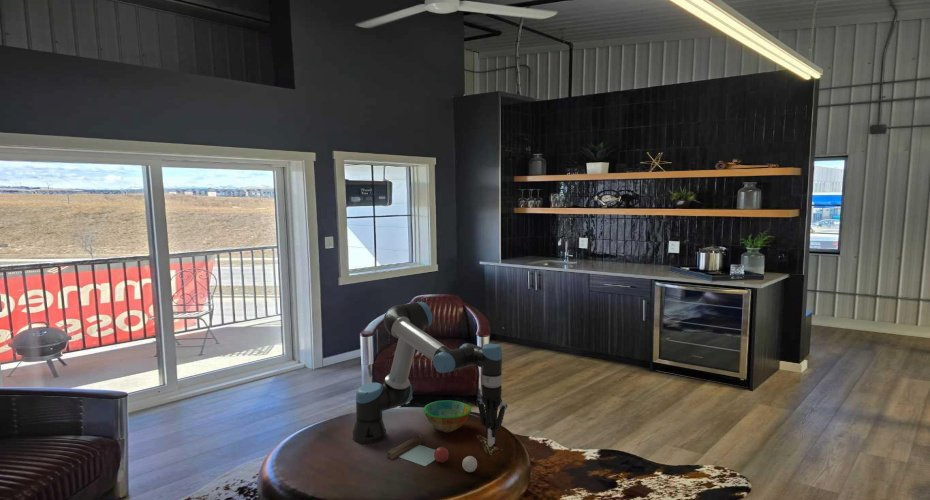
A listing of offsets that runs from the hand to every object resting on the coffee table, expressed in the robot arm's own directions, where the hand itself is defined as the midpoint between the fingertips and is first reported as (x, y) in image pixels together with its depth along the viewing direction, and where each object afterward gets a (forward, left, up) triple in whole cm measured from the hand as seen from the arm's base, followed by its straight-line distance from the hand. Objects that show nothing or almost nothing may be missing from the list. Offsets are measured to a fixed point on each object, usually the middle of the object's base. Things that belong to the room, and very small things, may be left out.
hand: (491, 444), depth 218 cm
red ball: (-24, 0, -11) cm, 26 cm away
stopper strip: (-43, 0, -14) cm, 45 cm away
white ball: (-10, 0, -11) cm, 15 cm away
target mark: (-34, 0, -14) cm, 36 cm away
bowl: (-41, +28, -14) cm, 51 cm away
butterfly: (-15, +22, -14) cm, 30 cm away
